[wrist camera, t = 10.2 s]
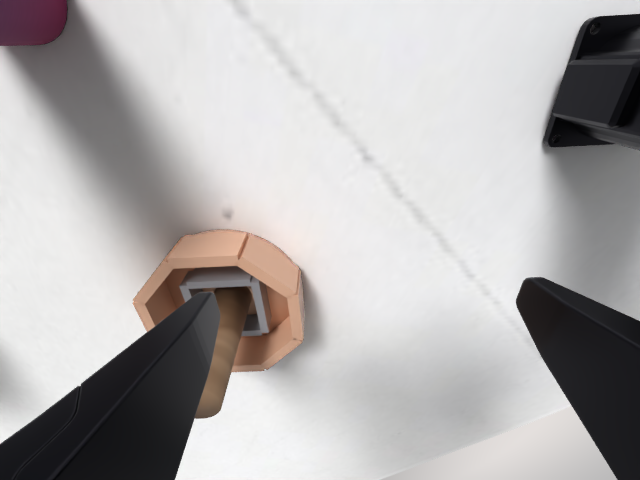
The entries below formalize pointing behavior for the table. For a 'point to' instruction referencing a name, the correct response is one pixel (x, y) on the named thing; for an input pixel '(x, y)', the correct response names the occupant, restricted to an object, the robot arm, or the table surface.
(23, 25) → the cup
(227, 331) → the wooden dowel rod
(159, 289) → the tan polygonal bowl
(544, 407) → the table surface
